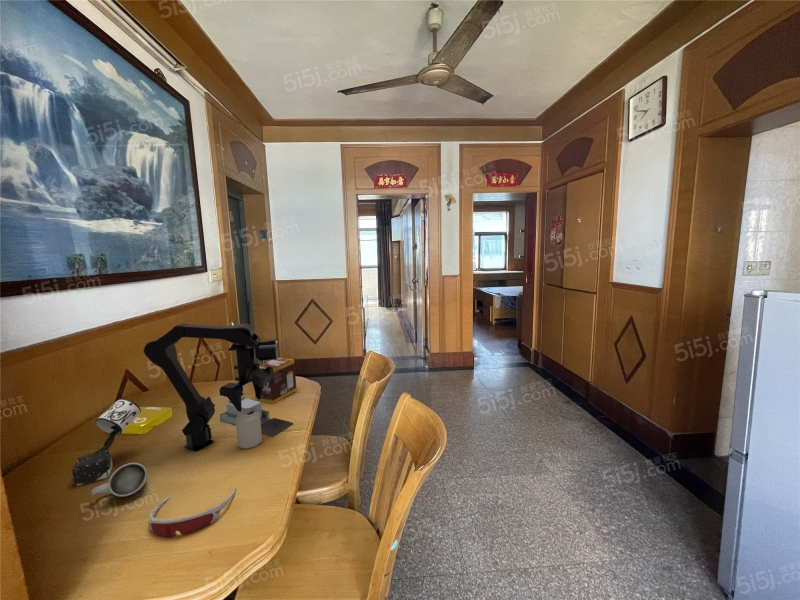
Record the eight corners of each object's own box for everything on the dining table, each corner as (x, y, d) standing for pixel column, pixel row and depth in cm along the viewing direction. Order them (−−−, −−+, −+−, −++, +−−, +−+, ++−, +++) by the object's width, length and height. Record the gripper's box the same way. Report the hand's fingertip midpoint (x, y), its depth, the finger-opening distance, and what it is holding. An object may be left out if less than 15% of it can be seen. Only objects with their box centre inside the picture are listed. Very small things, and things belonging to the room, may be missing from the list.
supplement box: (255, 400, 145) (252, 367, 143) (280, 387, 159) (277, 356, 157) (272, 404, 141) (269, 369, 139) (297, 390, 155) (294, 359, 153)
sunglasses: (132, 550, 71) (131, 527, 71) (171, 505, 87) (170, 486, 88) (219, 536, 74) (218, 513, 74) (240, 495, 91) (239, 477, 91)
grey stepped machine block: (249, 423, 123) (247, 406, 122) (227, 417, 128) (226, 401, 127) (262, 416, 128) (260, 400, 127) (240, 411, 133) (239, 395, 132)
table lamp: (110, 400, 106) (102, 394, 99) (146, 404, 110) (141, 399, 102) (67, 489, 94) (54, 490, 86) (109, 491, 97) (100, 492, 89)
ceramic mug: (141, 496, 90) (152, 465, 94) (139, 496, 84) (151, 463, 88) (92, 496, 85) (105, 463, 89) (86, 496, 79) (101, 461, 83)
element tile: (175, 417, 133) (173, 405, 132) (143, 437, 118) (141, 425, 117) (141, 416, 134) (140, 405, 134) (105, 436, 119) (103, 423, 119)
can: (256, 450, 107) (253, 416, 106) (234, 450, 108) (230, 416, 106) (266, 438, 115) (263, 405, 113) (245, 438, 115) (242, 406, 113)
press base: (272, 437, 115) (272, 429, 114) (219, 422, 127) (219, 414, 126) (293, 424, 124) (292, 416, 123) (242, 410, 136) (241, 403, 135)
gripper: (244, 373, 99) (249, 421, 101) (283, 355, 117) (286, 396, 119) (216, 370, 102) (220, 416, 105) (257, 352, 120) (261, 393, 122)
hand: (249, 405), depth 112 cm, fingers open, 9 cm apart
